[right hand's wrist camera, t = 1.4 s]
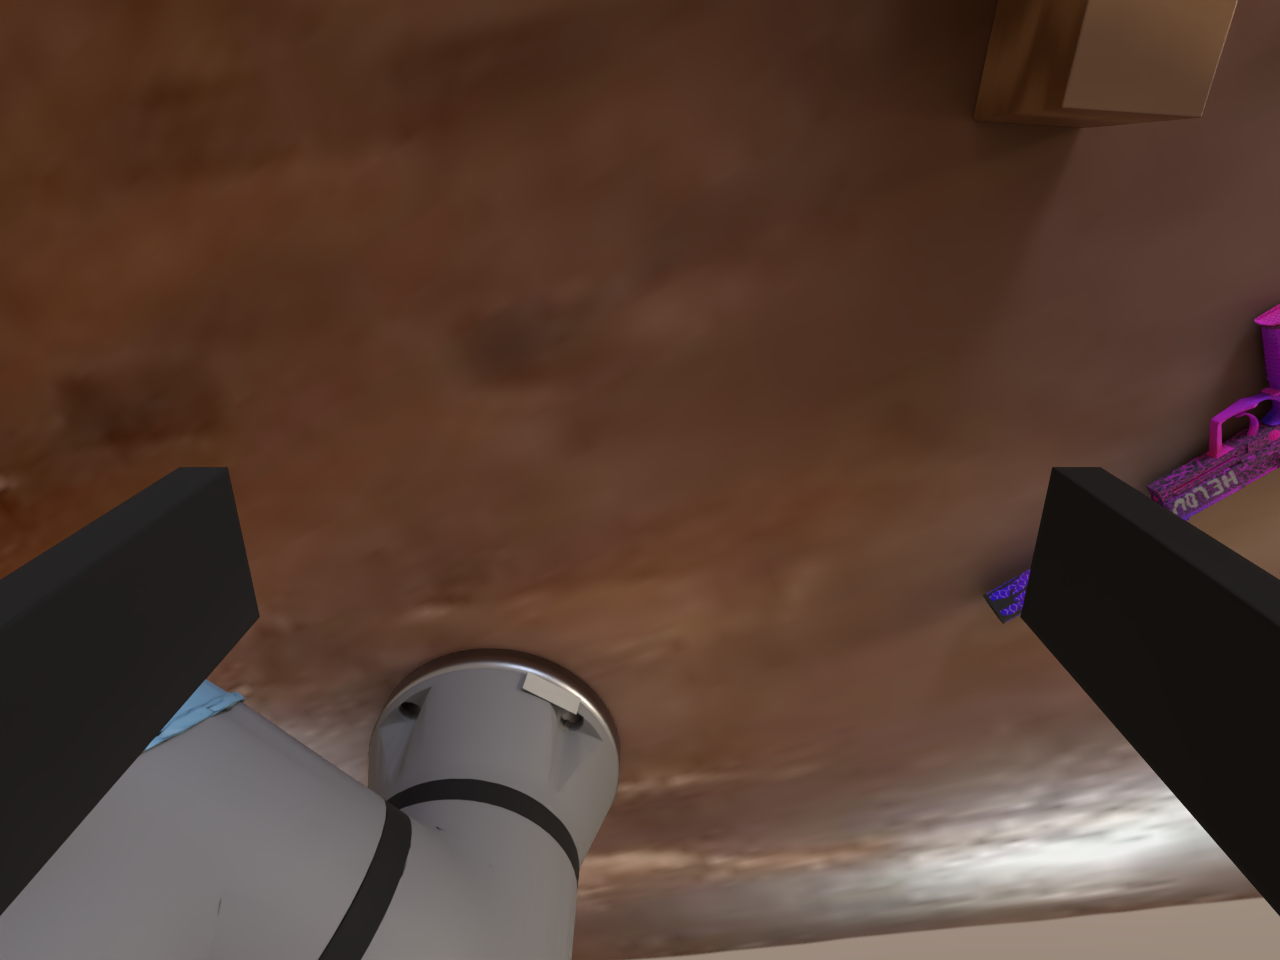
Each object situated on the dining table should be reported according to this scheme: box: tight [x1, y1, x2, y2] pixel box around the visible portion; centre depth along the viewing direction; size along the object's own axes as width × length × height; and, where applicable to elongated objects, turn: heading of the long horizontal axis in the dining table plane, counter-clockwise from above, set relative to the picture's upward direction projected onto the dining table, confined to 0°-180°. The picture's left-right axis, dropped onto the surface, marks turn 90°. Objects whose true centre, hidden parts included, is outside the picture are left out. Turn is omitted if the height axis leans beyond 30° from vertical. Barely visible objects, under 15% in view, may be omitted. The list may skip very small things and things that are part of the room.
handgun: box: [983, 304, 1280, 624], centre depth 39 cm, size 21×8×2 cm, turn 127°
